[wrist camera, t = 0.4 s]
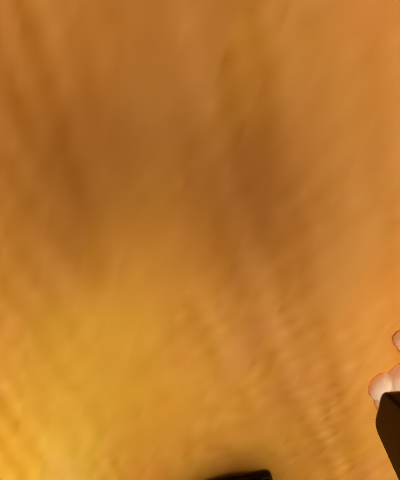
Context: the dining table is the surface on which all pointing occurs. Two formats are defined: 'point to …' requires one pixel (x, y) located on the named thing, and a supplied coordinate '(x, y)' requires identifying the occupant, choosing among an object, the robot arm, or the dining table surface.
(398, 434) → the robot arm
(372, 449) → the dining table surface
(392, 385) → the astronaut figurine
